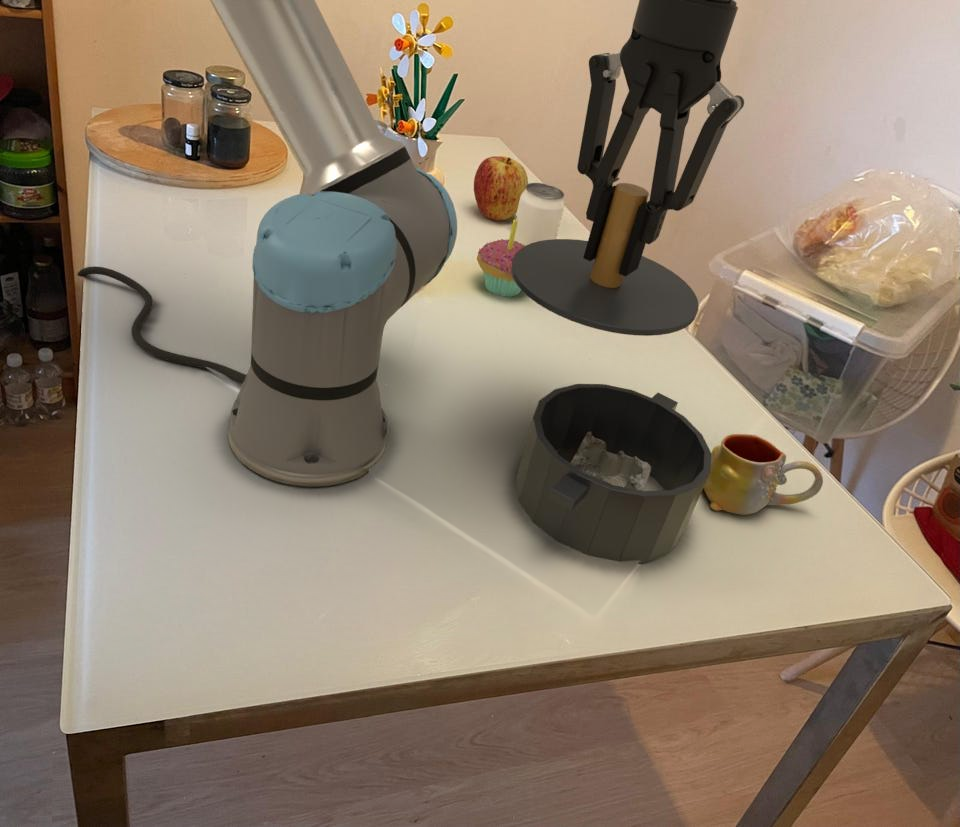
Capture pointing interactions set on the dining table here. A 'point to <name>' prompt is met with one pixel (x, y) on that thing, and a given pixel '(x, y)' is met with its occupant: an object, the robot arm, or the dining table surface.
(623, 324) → the lid
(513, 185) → the apple
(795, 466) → the mug
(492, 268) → the cupcake
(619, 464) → the egg carton
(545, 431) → the pot
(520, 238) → the can
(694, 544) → the dining table surface
